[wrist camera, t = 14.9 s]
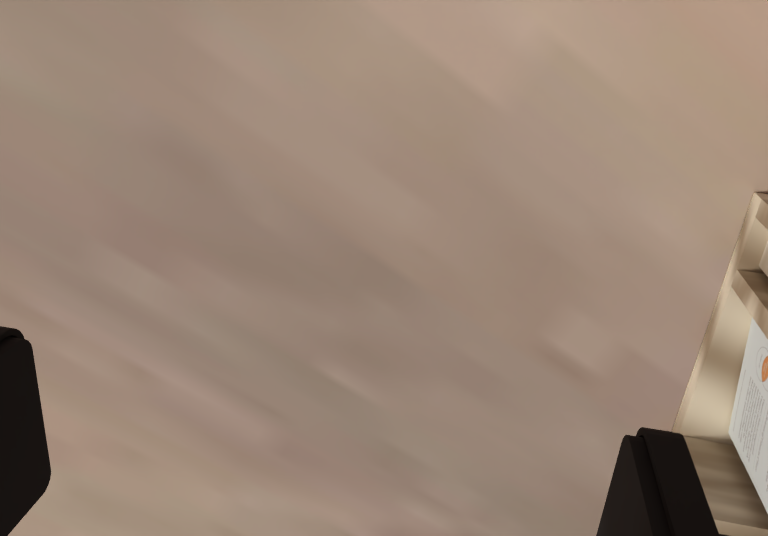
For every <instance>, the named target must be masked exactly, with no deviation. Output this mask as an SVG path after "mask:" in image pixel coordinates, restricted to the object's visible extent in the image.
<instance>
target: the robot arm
mask: <svg viewBox="0 0 768 536" xmlns="http://www.w3.org/2000/svg"><path fill="white" fill-rule="evenodd" d="M50 476H51V467H50V461H49V454H48V448H47V441H46V435H45V428H44V422H43V415H42V409H41V402H40V395H39V389H38V382H37V376H36V369H35V363H34V356H33V350H32V346H31V344H30V342H29V341H27V340H25V339H24V336H23V334H22V333H21V332H20V331H19V330H17V329H14V328H7V327H1V326H0V536H8V534H9V533H10V532H11V531H12V530H13V529H14V527H15V526H16V525H17V524H18V523H19V522H20V520H21V519H22V518H23V517H24V516H25V515H26V513H27V512H28V511H29V510H30V509H31V508H32V506H33V505H34V504H35V503H36V502H37V501H38V499H39V498H40V497H41V496H42V495H43V493H44V492H45V490H46V488H47V486H48V484H49V481H50ZM596 536H729V535H723V534H719V533H718V530H717V527H716V524H715V521H714V519H713V516H712V513H711V510H710V507H709V505H708V502H707V499H706V496H705V494H704V491H703V488H702V485H701V482H700V480H699V477H698V474H697V471H696V468H695V466H694V463H693V460H692V457H691V455H690V452H689V449H688V446H687V443H686V441H685V438H684V437H683V435H682V434H680V433H675V432H669V431H662V430H656V429H650V428H643V427H642V428H640V429H639V431H638V432H637V435H636V436H630V435H625V436H624V438H623V440H622V443H621V447H620V451H619V454H618V458H617V462H616V465H615V469H614V473H613V476H612V480H611V484H610V487H609V491H608V495H607V498H606V502H605V506H604V510H603V513H602V517H601V521H600V524H599V528H598V532H597V535H596Z"/></svg>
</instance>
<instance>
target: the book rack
mask: <svg viewBox="0 0 768 536" xmlns="http://www.w3.org/2000/svg"><path fill="white" fill-rule="evenodd" d="M752 317H753V319H754V320H755V322H756V323H757V325H758V326H759V327H760V329H761V330H762V332H763V333H764V335H765V336H766V338H767V339H768V194H764V193H757V192H754V194H753V197H752V200H751V203H750V206H749V209H748V211H747V214H746V217H745V220H744V223H743V226H742V229H741V232H740V235H739V238H738V241H737V243H736V246H735V249H734V252H733V255H732V258H731V261H730V264H729V267H728V270H727V272H726V275H725V278H724V281H723V284H722V287H721V290H720V293H719V296H718V299H717V301H716V304H715V307H714V310H713V313H712V316H711V319H710V322H709V325H708V328H707V331H706V333H705V336H704V339H703V342H702V345H701V348H700V351H699V354H698V357H697V360H696V362H695V365H694V368H693V371H692V374H691V377H690V380H689V383H688V386H687V389H686V391H685V394H684V397H683V400H682V403H681V406H680V409H679V412H678V415H677V418H676V421H675V423H674V426H673V429H672V432H675V433H680V434H682V435H683V437H684V438H685V441H686V443H687V446H688V449H689V452H690V455H691V457H692V460H693V463H694V466H695V468H696V471H697V474H698V477H699V480H700V482H701V485H702V488H703V491H704V494H705V496H706V499H707V502H708V505H709V507H710V510H711V513H712V516H713V519H714V521H715V524H716V527H717V530H718V533H719V534H723V535H729V536H768V514H767V512H766V509H765V507H764V505H763V503H762V501H761V499H760V497H759V495H758V493H757V490H756V488H755V486H754V484H753V482H752V480H751V478H750V476H749V474H748V472H747V470H746V468H745V466H744V464H743V462H742V460H741V458H740V456H739V454H738V452H737V450H736V448H735V445H734V443H733V441H732V439H731V437H730V436H729V433H728V431H729V426H730V421H731V416H732V411H733V406H734V401H735V396H736V391H737V386H738V382H739V377H740V372H741V368H742V363H743V358H744V353H745V348H746V344H747V339H748V334H749V330H750V325H751V320H752Z"/></svg>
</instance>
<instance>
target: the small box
mask: <svg viewBox="0 0 768 536" xmlns="http://www.w3.org/2000/svg"><path fill="white" fill-rule="evenodd" d="M728 433H729V436H730V437H731V439H732V441H733V443H734V445H735V448H736V450H737V452H738V454H739V456H740V458H741V460H742V462H743V464H744V466H745V468H746V470H747V472H748V474H749V476H750V478H751V480H752V482H753V484H754V486H755V488H756V490H757V493H758V495H759V497H760V499H761V501H762V503H763V505H764V507H765V509H766V512H767V514H768V339H767V338H766V336H765V335H764V333H763V332H762V330H761V329H760V327H759V326H758V325H757V323H756V322H755V320H754V319H753V317H752V320H751V325H750V330H749V334H748V339H747V344H746V348H745V353H744V358H743V363H742V368H741V372H740V377H739V382H738V386H737V391H736V396H735V401H734V406H733V411H732V416H731V421H730V426H729V431H728Z"/></svg>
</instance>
